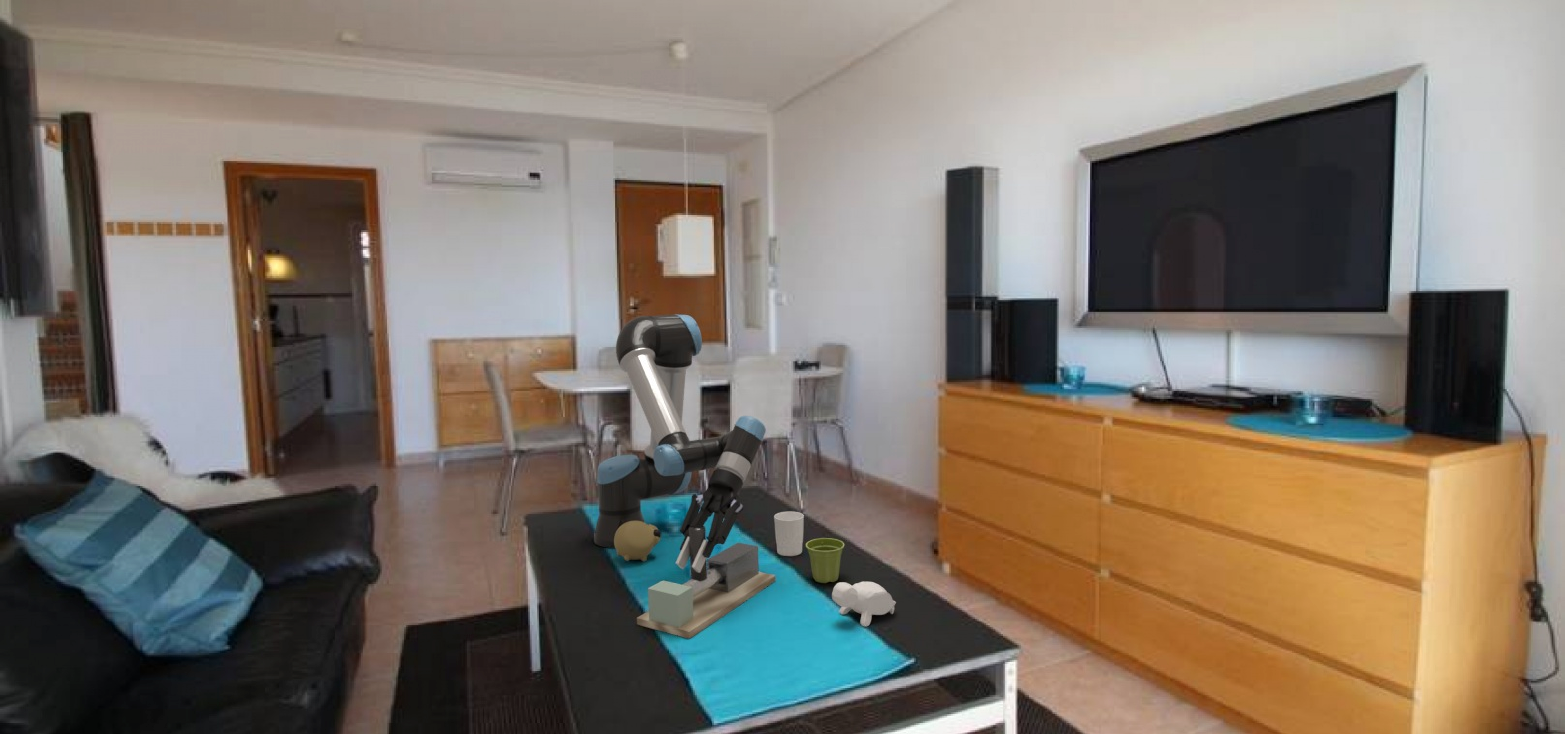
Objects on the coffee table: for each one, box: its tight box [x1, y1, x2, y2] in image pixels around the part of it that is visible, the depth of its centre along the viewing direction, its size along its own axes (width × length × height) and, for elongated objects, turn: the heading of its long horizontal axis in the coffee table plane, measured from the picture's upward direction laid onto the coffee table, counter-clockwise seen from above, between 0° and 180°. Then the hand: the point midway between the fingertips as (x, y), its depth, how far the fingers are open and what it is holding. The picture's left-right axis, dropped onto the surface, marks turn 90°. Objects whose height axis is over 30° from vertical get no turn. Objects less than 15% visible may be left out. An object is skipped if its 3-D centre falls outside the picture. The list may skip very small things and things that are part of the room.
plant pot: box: [805, 537, 845, 584], centre depth 185 cm, size 9×9×9 cm
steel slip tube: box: [681, 525, 726, 597], centre depth 173 cm, size 4×21×15 cm, turn 149°
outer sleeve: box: [706, 542, 760, 593], centre depth 182 cm, size 6×13×7 cm, turn 149°
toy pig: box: [614, 521, 662, 563], centre depth 201 cm, size 10×12×11 cm
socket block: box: [647, 580, 694, 628], centre depth 161 cm, size 8×5×7 cm, turn 59°
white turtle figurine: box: [831, 581, 897, 628], centre depth 164 cm, size 9×8×15 cm
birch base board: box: [636, 571, 776, 640], centre depth 174 cm, size 14×34×2 cm, turn 149°
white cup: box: [773, 511, 805, 557], centre depth 204 cm, size 8×8×10 cm
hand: (687, 567), depth 166 cm, fingers open, 4 cm apart
